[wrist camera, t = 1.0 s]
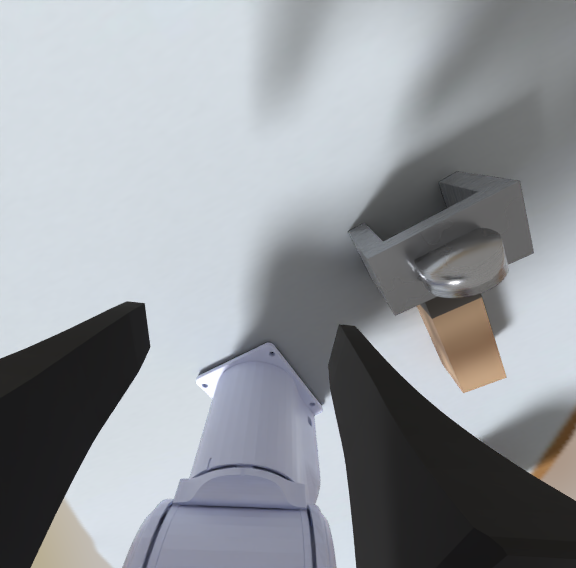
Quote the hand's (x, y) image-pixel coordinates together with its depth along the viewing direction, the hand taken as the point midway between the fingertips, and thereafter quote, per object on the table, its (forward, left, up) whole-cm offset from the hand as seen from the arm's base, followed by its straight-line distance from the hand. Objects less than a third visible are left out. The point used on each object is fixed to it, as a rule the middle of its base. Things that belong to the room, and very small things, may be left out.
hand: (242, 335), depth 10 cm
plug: (-12, -9, -10) cm, 18 cm away
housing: (-4, -9, -10) cm, 14 cm away
